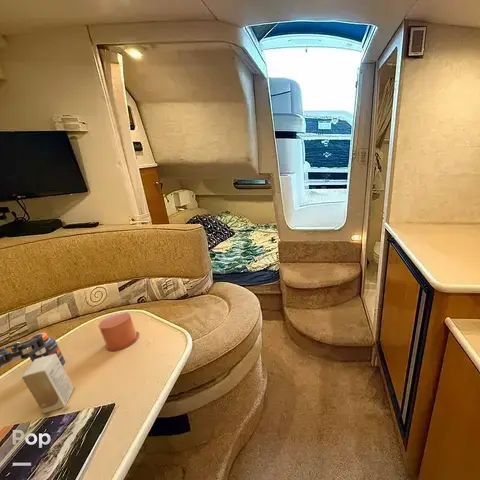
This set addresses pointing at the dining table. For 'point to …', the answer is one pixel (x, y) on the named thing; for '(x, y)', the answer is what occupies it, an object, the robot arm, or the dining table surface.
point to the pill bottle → (48, 349)
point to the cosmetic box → (48, 383)
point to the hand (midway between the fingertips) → (13, 347)
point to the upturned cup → (118, 331)
